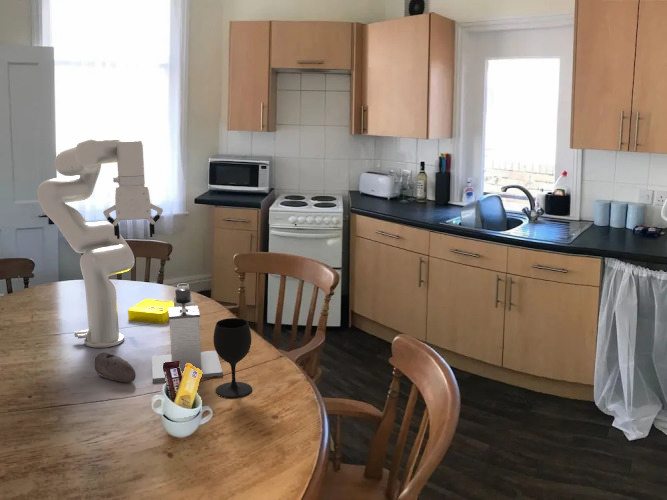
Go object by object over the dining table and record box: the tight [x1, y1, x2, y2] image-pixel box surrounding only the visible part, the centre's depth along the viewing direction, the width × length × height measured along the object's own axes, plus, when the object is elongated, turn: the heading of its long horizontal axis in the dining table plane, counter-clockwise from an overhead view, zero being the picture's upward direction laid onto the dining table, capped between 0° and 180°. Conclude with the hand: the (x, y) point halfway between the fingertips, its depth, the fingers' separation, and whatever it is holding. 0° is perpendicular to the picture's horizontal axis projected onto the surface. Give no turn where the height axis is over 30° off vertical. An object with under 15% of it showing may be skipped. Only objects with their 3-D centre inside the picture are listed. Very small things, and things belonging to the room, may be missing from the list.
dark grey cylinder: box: [174, 287, 192, 312], centre depth 219 cm, size 4×4×20 cm
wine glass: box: [213, 317, 253, 399], centre depth 204 cm, size 10×10×20 cm
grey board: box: [151, 350, 223, 383], centre depth 223 cm, size 20×18×1 cm
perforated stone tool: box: [94, 352, 137, 384], centre depth 213 cm, size 15×5×7 cm, turn 56°
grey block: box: [168, 305, 202, 370], centre depth 222 cm, size 9×12×17 cm
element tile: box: [127, 298, 174, 325], centre depth 270 cm, size 15×15×5 cm
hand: (134, 237), depth 223 cm, fingers open, 9 cm apart
